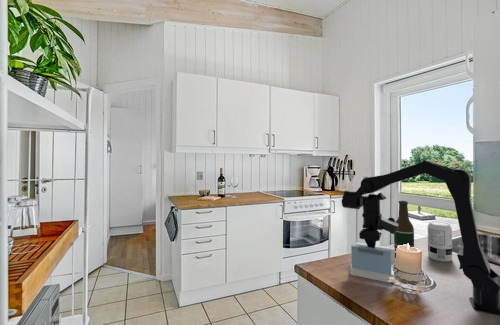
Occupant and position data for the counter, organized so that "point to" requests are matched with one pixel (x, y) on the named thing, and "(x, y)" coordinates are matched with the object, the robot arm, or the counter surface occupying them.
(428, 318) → the counter surface
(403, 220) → the beer bottle
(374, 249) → the panel
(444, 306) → the counter surface
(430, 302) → the counter surface
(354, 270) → the white stepped block
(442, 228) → the supplement can
